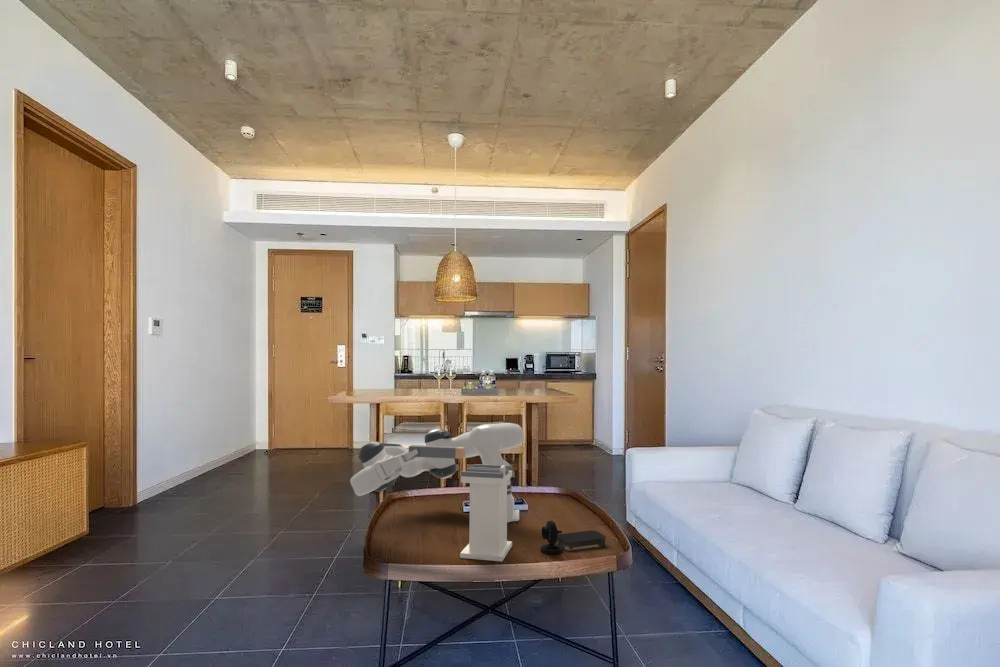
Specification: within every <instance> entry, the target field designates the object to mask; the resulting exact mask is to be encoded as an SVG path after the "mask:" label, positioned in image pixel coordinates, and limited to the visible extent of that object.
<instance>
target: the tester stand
mask: <svg viewBox="0 0 1000 667" xmlns="http://www.w3.org/2000/svg"><path fill="white" fill-rule="evenodd" d="M460 475H461V476H460V481H461V482H460V483H462V484H465V483H466V484H469V531H468V532H469V534H468V535H469V536H468V537H469V539H468V540H469V543H468V544H466V546H465V547H464V548H463V550H461V552H460V554H459V557H460V559H468V560H469V559H471V560H481V561H492V562H503V561H504V559H505V558H506V556H507V555H508V553H509V551H510V550H511V548H512V547H513V541H510V540H508V522H507V480H508V479H509V478H510V479H511V478H512V476H513V465H510V466H505V465H484V464H483V463H482V464H479V463H478V464H477V463H473V466H468V467H467V468H466V471H465V470H462V471H461V474H460Z"/></svg>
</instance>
